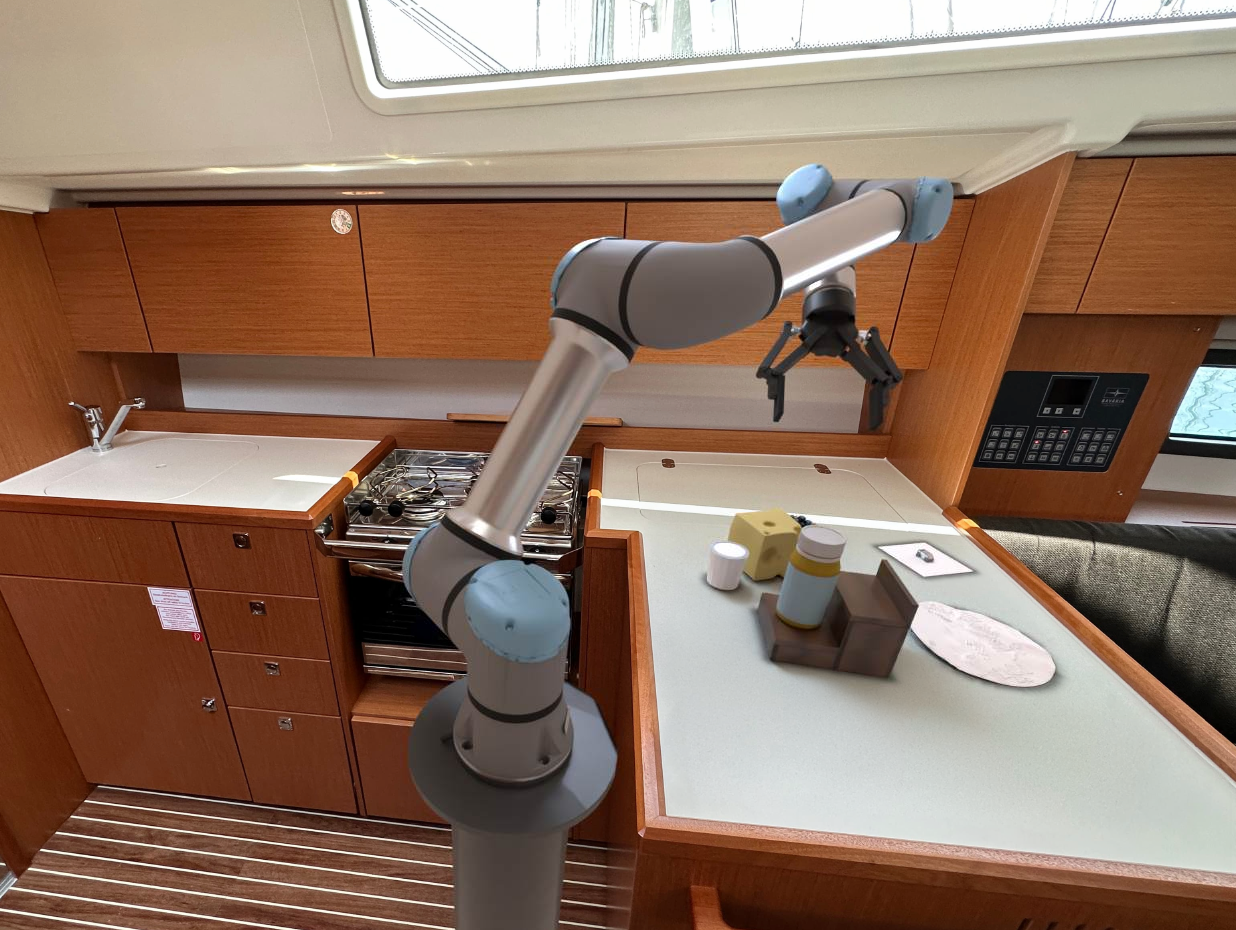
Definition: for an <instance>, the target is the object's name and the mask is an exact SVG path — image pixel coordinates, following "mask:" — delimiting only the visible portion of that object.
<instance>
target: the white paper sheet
mask: <svg viewBox="0 0 1236 930" xmlns="http://www.w3.org/2000/svg"><path fill="white" fill-rule="evenodd" d="M878 549H880V550H882V551H883V552H885V553H887V554H888V555H889V556H892V558H894V559H896V560H897V561H899V562H900V563H902V564H903V565H905V566H906V567H908V568H909V569H911V570H912V571H914V572H916V573H917V574H919V575H920V576H921V577H923V578H925V577H934V576H944V575H953V574H962V573H971V572H973V569H971V568H969V567H967V566H966V565H963V564H962V563H960V562H958V561H957V560H956V559H953V558H952V557H950V556H948V555H947V554H945V553H943V552H942V551H940V550H938V549H936V548H935V547H933V546H931V545H930V544H928V543H926V542H916V543H907V544H905V543H904V544H893V545H884V546H878Z"/></svg>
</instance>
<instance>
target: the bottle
mask: <svg viewBox="0 0 1236 930" xmlns="http://www.w3.org/2000/svg"><path fill="white" fill-rule="evenodd" d="M817 525H818V524H817ZM817 525H810V526H805V527H803V528H802V529H801V532H800V535H799V539H798V543H797V546H796V549H795V550H794V552H793V553H792V554H791V557H790V559H789V563H788V567H787V570H786V574H785V577H783V581H782V584H781V588H780V591H779V594H778V595H779V599H778V602H777V607H776V612H777V614H778V616H779V617H780V619H781V620H782V621H783V622H785V623H786V624H788V625H790V626H792V627H795V628H799V629H805V630H808V629H814V628H816V627H819V626H821V625H822V623H823V621H824V619H825V615H826V612H827V609H828V606H829V603H830V600H831V597H832V594H833V591H834V588H835V585H836V582H837V579H838V576H839V573H840V571H841V568H842V566H841V559H842V555H843V554H844V549H845V547H846V544H847V537H846V536H845V535H844V534H843V533H842V532H840V531H838V530H837V529H834V528H832V527H828V526H823V525H819V526H817Z"/></svg>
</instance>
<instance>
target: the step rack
mask: <svg viewBox="0 0 1236 930" xmlns="http://www.w3.org/2000/svg"><path fill="white" fill-rule="evenodd" d="M779 595H780V594H778V593H769V592H761V594H760V599H759V603H758V606H757V610H756V613H757V617H758V620H759V624H760V628H761V632H762V636H763V639H764V643H765V647H766V651H767V655H768V658H769V660H770V661H776V662H782V663H790V664H795V665H803V666H807V667H815V668H822V669H828V670H834V671H842V672H847V673H856V674H861V675H867V676H874V677H881V678H887V679H888V678H889V679H890V677H891V674H892V672H893V669H894V667H895V665H896V662H897V659H898V658H899V656H900V653H901V651H902V648H903V646H904V643H905V640H906V638H907V636H908V633H909V631H910V629H911V624H912V621H913V619H914V617H915V614H916V612H917V609H918V607H919V605H918V602H917V600H916V599H915V598H914V596H913V595H912V594H911V592H910V590H909V589H908V588H907V586H906V584H904V582H903V581H902V579H901V578H900V576H899V575H898V573H897V572H896V571H895V569H894V567H893V566H892V564H891V563H890V562H889V560H888V559H884V558H882V559H881V560H880V562H879V566H878V568H877V572H876V574H869V573H861V572H853V571H852V572H851V571H845V570H840V573H839V576H838V579H837V582H836V585H835V588H834V591H833V594H832V597H831V600H830V603H829V606H828V609H827V612H826V615H825V619H824V621H823V623H822V625H821V626H819V627H816V628H814V629H808V630H805V629H799V628H795V627H792V626H790V625H788V624H786V623H785V622H783V621H782V620H781V619H780V617H779V616H778V614H777V612H776V607H777V602H778V599H779Z"/></svg>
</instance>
